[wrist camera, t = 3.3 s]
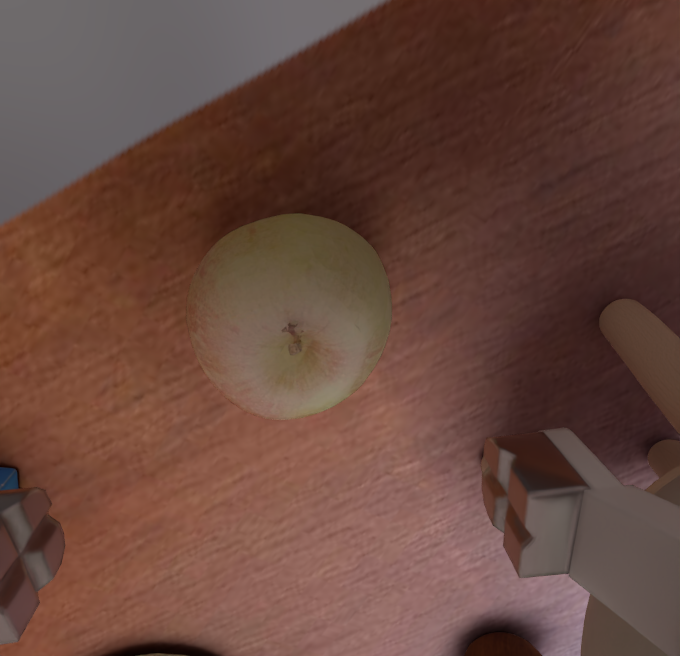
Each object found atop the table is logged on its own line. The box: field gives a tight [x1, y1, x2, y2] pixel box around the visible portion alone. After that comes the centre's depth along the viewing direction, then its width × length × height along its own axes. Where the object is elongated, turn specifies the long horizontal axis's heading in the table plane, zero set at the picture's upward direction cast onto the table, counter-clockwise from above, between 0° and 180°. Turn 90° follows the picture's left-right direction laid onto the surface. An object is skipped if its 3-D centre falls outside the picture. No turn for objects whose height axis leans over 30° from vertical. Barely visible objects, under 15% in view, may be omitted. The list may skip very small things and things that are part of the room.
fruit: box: [186, 213, 392, 420], centre depth 17 cm, size 8×7×8 cm
